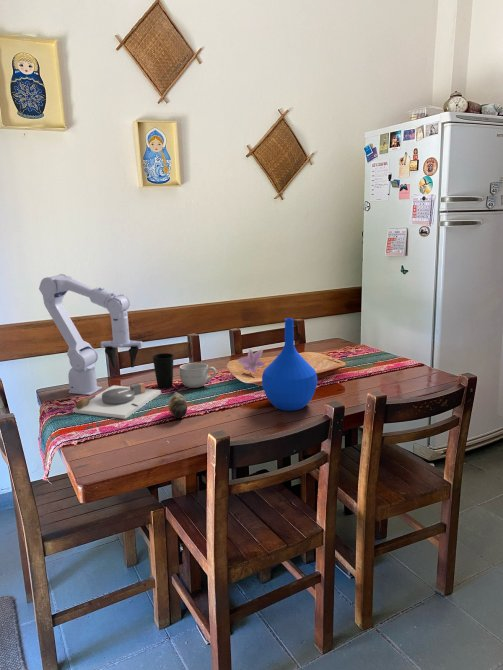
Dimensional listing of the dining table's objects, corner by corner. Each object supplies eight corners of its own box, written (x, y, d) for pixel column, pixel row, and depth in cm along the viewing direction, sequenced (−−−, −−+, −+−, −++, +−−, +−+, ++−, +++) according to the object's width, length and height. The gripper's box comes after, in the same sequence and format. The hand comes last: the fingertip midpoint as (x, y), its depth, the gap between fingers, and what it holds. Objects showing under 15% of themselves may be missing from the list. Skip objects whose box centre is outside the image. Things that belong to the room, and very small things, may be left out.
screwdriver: (81, 409, 172) (81, 402, 172) (75, 408, 173) (75, 401, 172) (97, 399, 180) (97, 393, 180) (92, 399, 181) (91, 392, 181)
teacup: (175, 388, 193) (173, 368, 191) (189, 379, 203) (188, 360, 201) (208, 392, 188) (207, 371, 186) (221, 383, 198) (220, 363, 196)
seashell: (166, 413, 170) (164, 390, 168) (182, 410, 172) (181, 387, 170) (173, 424, 162) (172, 400, 160) (191, 420, 164) (190, 397, 162)
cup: (171, 390, 191) (169, 359, 188) (151, 389, 193) (149, 358, 190) (178, 383, 199) (176, 353, 196) (159, 382, 200) (157, 352, 197)
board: (73, 412, 173) (72, 408, 173) (113, 388, 195) (113, 384, 195) (125, 418, 167) (124, 414, 166) (160, 393, 189) (160, 389, 188)
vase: (253, 401, 179) (251, 316, 172) (300, 392, 186) (300, 311, 179) (277, 420, 163) (275, 328, 155) (327, 410, 170) (328, 321, 162)
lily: (236, 372, 214) (230, 356, 208) (260, 358, 217) (255, 341, 210) (250, 388, 205) (245, 372, 199) (275, 373, 208) (270, 357, 202)
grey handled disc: (111, 406, 173) (110, 398, 172) (96, 398, 181) (95, 389, 180) (151, 395, 183) (151, 386, 182) (136, 387, 191) (135, 379, 190)
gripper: (96, 332, 179) (100, 370, 183) (137, 332, 178) (140, 370, 182) (103, 328, 186) (106, 364, 190) (143, 327, 185) (145, 364, 189)
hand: (123, 366), depth 186 cm, fingers open, 6 cm apart
